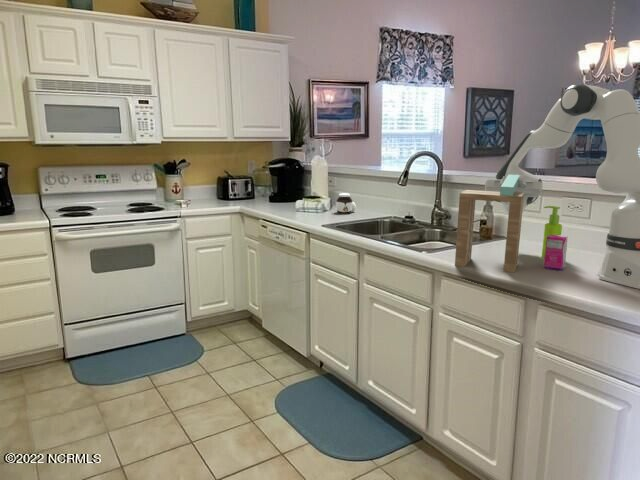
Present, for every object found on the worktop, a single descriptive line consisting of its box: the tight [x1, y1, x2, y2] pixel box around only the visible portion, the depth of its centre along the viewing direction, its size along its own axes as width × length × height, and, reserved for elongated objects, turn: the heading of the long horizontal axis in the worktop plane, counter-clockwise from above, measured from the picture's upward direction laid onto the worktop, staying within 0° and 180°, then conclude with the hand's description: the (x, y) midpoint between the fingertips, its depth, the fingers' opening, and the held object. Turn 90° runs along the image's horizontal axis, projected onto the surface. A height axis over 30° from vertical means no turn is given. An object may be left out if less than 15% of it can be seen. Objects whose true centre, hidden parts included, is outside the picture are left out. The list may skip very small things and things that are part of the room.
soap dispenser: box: [541, 205, 563, 260], centre depth 187 cm, size 6×7×20 cm
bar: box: [500, 175, 520, 196], centre depth 173 cm, size 24×4×3 cm, turn 154°
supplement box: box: [543, 235, 568, 271], centre depth 172 cm, size 6×6×12 cm
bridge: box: [454, 189, 524, 273], centre depth 174 cm, size 14×20×26 cm
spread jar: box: [335, 192, 357, 215], centre depth 301 cm, size 12×11×12 cm
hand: (512, 178), depth 179 cm, fingers closed on bar, 4 cm apart
